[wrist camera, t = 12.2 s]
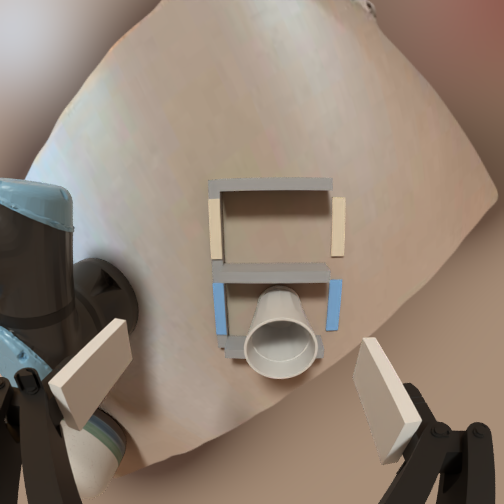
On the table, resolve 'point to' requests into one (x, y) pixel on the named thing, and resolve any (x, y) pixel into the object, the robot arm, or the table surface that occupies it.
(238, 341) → the parallel grey wall panels
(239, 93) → the table surface
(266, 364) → the cup
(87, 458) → the vase
